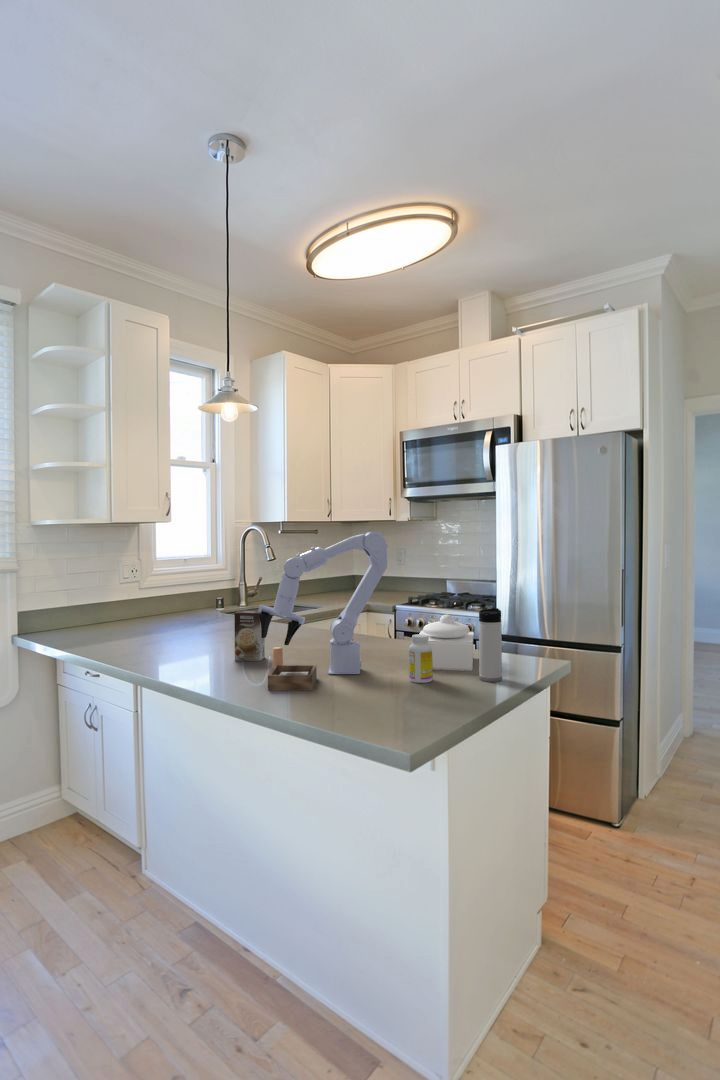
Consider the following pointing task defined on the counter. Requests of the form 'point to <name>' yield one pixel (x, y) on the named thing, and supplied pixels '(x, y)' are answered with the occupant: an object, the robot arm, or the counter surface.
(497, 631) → the travel mug
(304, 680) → the peg box
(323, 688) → the counter surface
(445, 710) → the counter surface
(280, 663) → the peg
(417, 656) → the supplement bottle
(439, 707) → the counter surface
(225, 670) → the counter surface
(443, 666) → the white lidded jar
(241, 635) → the coffee box
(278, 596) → the robot arm
